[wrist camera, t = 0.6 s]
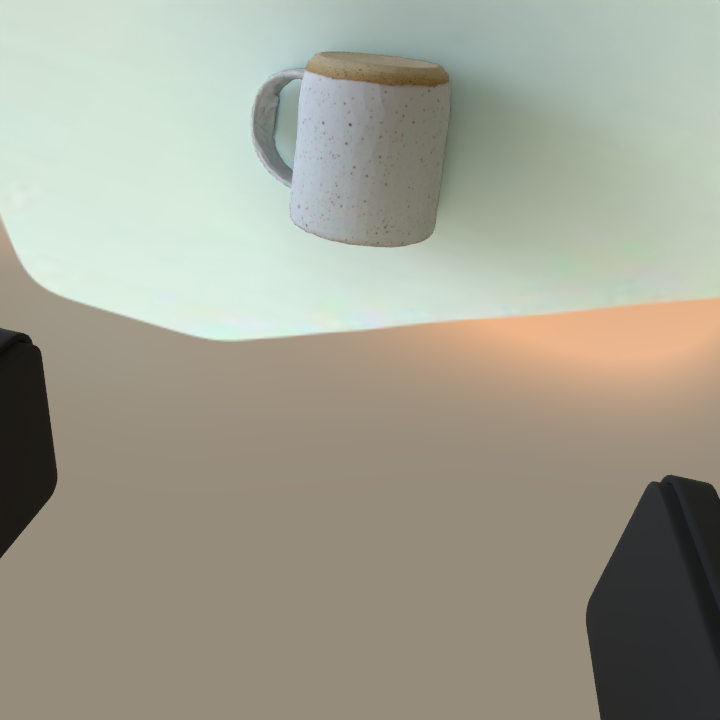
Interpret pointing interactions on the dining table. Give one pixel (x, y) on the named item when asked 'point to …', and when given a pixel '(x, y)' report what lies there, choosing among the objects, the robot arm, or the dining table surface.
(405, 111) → the ceramic mug
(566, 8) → the dining table surface
